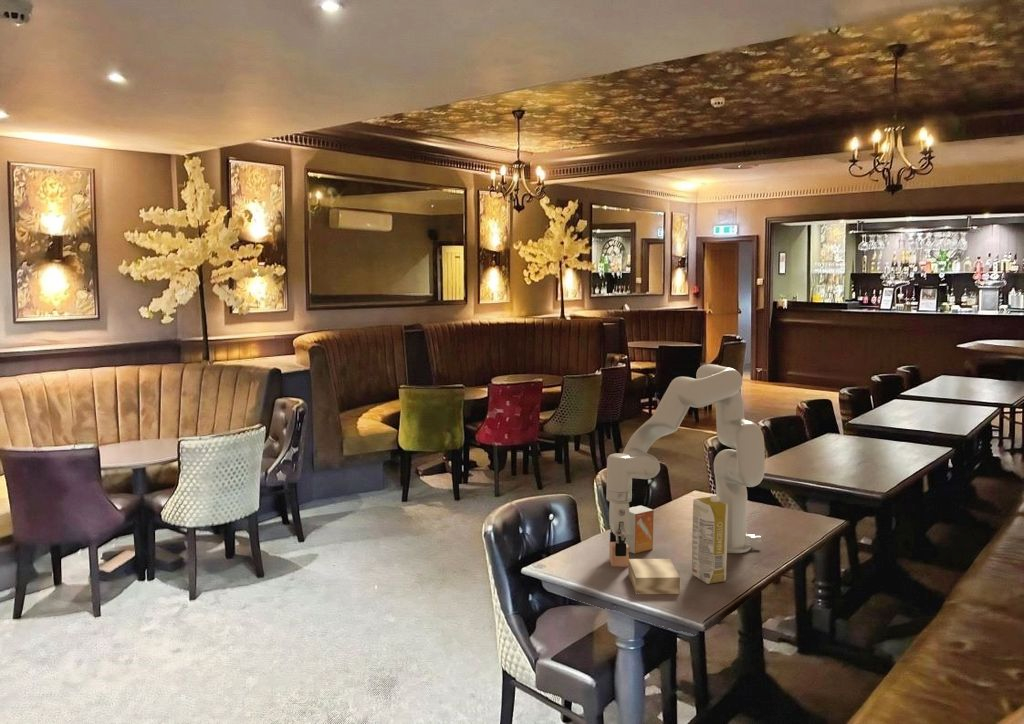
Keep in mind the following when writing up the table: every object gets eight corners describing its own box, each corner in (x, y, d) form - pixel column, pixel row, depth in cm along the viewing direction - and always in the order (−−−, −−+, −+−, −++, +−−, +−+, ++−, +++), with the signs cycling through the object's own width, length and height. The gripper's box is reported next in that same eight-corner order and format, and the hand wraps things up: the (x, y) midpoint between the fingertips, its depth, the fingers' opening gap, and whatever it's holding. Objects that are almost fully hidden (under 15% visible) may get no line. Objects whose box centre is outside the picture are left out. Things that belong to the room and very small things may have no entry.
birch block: (669, 575, 222) (669, 558, 221) (679, 595, 208) (679, 577, 207) (628, 575, 222) (628, 559, 221) (635, 595, 208) (636, 577, 207)
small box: (634, 554, 238) (635, 514, 237) (621, 548, 243) (621, 509, 242) (653, 549, 242) (654, 509, 241) (639, 543, 248) (640, 504, 246)
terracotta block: (625, 560, 233) (625, 541, 232) (628, 566, 228) (628, 547, 228) (609, 560, 233) (609, 541, 232) (612, 566, 228) (612, 547, 227)
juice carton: (730, 582, 215) (732, 499, 213) (706, 586, 213) (708, 502, 210) (710, 570, 224) (712, 491, 222) (687, 574, 221) (689, 494, 219)
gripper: (637, 503, 220) (635, 560, 221) (626, 487, 237) (625, 540, 239) (611, 503, 220) (610, 560, 221) (602, 487, 237) (601, 540, 238)
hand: (617, 550), depth 230 cm, fingers open, 9 cm apart
